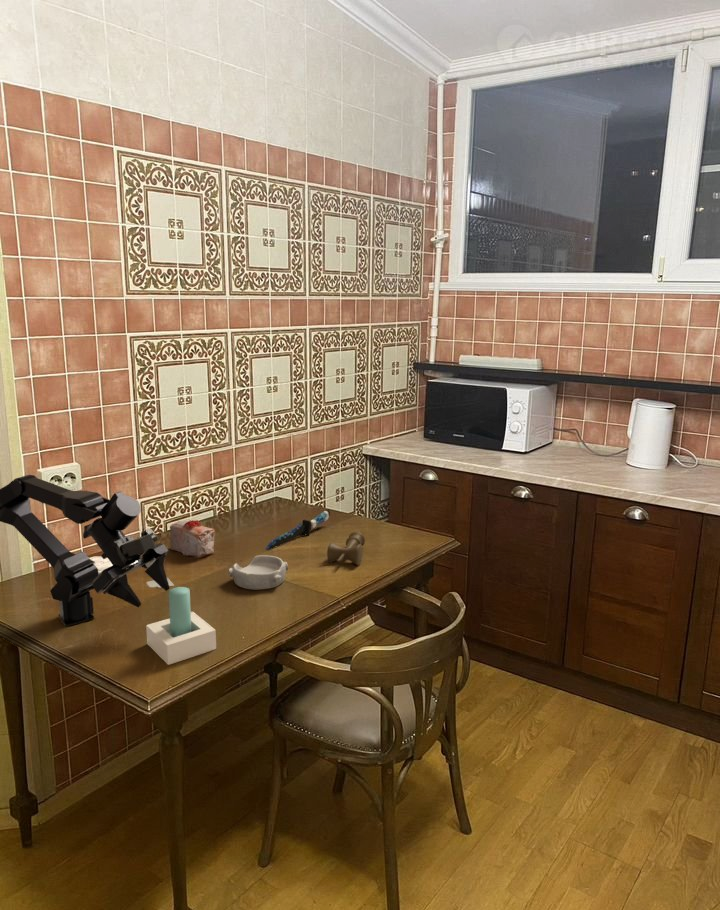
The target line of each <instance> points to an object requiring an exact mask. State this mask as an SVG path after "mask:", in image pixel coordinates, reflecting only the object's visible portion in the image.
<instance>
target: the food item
mask: <svg viewBox="0 0 720 910" xmlns="http://www.w3.org/2000/svg"><path fill="white" fill-rule="evenodd" d="M215 535H216V534H215V528H212V527H207V526H204V525H202V522H200V521H199V520H198V519H197V520H196V519H194V520H192V519H190V520H188V521H186V520H180V521H177V522H174V523H172V524H171V525H169V536H170V540H169V541H170V549H171V550H172V551H177V552H179V553H182V555H183V556H186V557H187V556H188V557H189V556H191V557H197V558H203V557H207V556H209V555H212V554H214V553H215V552H214V548H215V547H214V545H215Z"/></svg>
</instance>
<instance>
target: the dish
mask: <svg viewBox="0 0 720 910" xmlns="http://www.w3.org/2000/svg"><path fill="white" fill-rule="evenodd" d="M288 570H289V565H288V562H287V561H283V560H282V558H280V557H278V556H275V555H266V554H264V555H263V554H262V555H255V556H254V557H253V558H252V559H251V562H250V563H249V564H248V565H247V566H245V567H242V566H240V565H239V564H238V563H237V562H236V563H234V564H233V566H232V567H230V568H229V569H228V576H229V577H230V578H233V581H234V584H235V585H237V586H238V587H239V588H242V589H247V590H267V589H273V588H276V587H279V586H280V585H281V584H282V583H283V582H284V581H285V579H286V574H287V572H286V571H288Z"/></svg>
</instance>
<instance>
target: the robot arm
mask: <svg viewBox="0 0 720 910" xmlns="http://www.w3.org/2000/svg"><path fill="white" fill-rule="evenodd" d="M30 499H32V500H35V501H37V502H39V503H42V504H44V505H48V506H50V507H53V508H55V509H58V510H60V511H61V512H62V513H63V516H64V517H65V518H66V519H68V520H69V521H71V522H73V523H75V524H77V525H82V524H84V523H87V522H89V521H92V520H93V522H91V523H89V524H87V525H84V526H83V529H84V530H83V533H82V538H83V539H87V538H90V537H92V539H93V540H94V542H95V543H96V544H97V546H98V547H99V548H100V550H101V551H102V554H101V557H102V558H103V559H106V558H108V559H109V561H110V562H111V563H112V565H113V566H111V567H109V568H107V569H104V570H103V571H102V572H101V573H100V574H99V575H98V569H97V567H96V566H95V565H94V563H95V562H94V561H92V560H91V559H89V558H90V557H89V556H88V555H87V554H86V552H84V551H80V552H78V553H73V552H71V551H70V550H69V549H68V548H67V547H66V545H64V544H63V543H62V542H61V541H60V540H59V539H58V538H57V536H55V534H53V532H51V531H50V529H49V528H47V527H46V525H45V524H43V522H42V521H41V520H40V519H39V518H38V517H37V516H36V515H35V514H34V513H33V512H32V508H31V502H30ZM141 512H142V507H141V504H140V502H139V501H138V500H137V499H135V498H134V497H132V496H130V495H125V494H124V493H123V491H118V492H115V493H113V494H112V495H111V498H110V499H108V498H106V497H103V496H102V495H101V494H100V493H98V492H95V491H89V490H73V489H72V490H71V489H68V488H66V487H62V486H60V485H58V484H55V483H51V482H49V481H46V480H43V479H41V478H38V477H37V476H36V475H34V474H27V475H24V476H23V475H22V476H20V477H15V478H14V479H13V480H11V481H10V482H9V483H7V484H6V485H4V486H3V487H1V488H0V523H3V524H7V525H10V526H12V527H14V528H15V529H16V531H18V532H19V534H20V535H22V537H23V538H24V539H25V540H26V541H27V542H28V544H30V545H31V546H32V548H34V549H35V550H36V552H38V553H39V554H40V555H41V557H43V559H45V561H46V562H47V563H48V564H49V565H50V566H51V567H52V569H53V574H54V575H53V576H54V580H55V581H56V583H55V584H54V586H53V587H52V588H51V589H50V591H49V592H50V595H51V597H52V599H53V600H55V601H58V604H59V606H58V607H59V614H57V617H58V618H59V620H60V621H61V622H62V624H63V625H64V626H65V627H71V626H74V625H77V624H81V623H85V622H89V621H92V620H94V619H95V616H94V615H93V614H94V613H95V612H94V611H95V610H94V600H93V599H94V598H93V596H92V595H91V592H90V591H92V590H94V591H95V592H96V594H100V593H103V594H104V595H106V594H107V595H111V596H113V597H115V598H118V599H120V600H122V601H124V602H126V603H128V604H129V605H132V606H134V607H137V608H140V607H141V606H142V602H141V601H140V599H139V597H138V596H137V594H136V593H135V592H134V589H133V588H132V587H131V585H130V584H129V582H128V576H127V574H129V573H130V572H132V571H135V570H137V569H138V568H143V569H145V570H144V573H146V575H148V576H149V577H150V578H151V579H152V581H153V580H154V581H155V582H156V583H157V584H158V585H159V586H160V587H162V589H163V590H164V591H166V592H167V591H168V592H169V590H171V589H170V588H171V586H169V584H168V580H167V578H168V577H167V575H166V571H165V566H164V564H165V563H164V562H165V558H167V554H168V552H169V549H168V548H167V547H166V545H165V544H164V543H157V544H156V543H155V542H157V541H158V536H157V534H156V533H155V532H154V530H153V529H152V528H148V529H145V530H143V531H141V532H140V536H139V537H137V538H134V537H133V536H132V535H130V534H128V535H125V534H124V532H123V531H124V530H126V529H127V528H128V527H129V526H130V525H131V523H132V522H133V521H134V520H136V518H137V517H138V516H139V515H140V514H141Z"/></svg>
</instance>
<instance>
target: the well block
mask: <svg viewBox="0 0 720 910" xmlns="http://www.w3.org/2000/svg"><path fill="white" fill-rule="evenodd" d="M216 632H217V631H216V629H215V628H214V627H212V626H211V625H210V624H209V623H208V622H207V621H205V619H203V618H202V617H200V616H199V615H198V614H197V613H195V612H194V611H191V632H190V633H187V634H183V635H180V636H177V637H174V638H173V637H172V636H171V633H170V617H169V618H167V619H163V620H159V621H155V622H152V623H148V624H147V625H146V644H147V645H148V646H149V648H151V649H152V650H153V652H155V653H156V654H157V655H158V656H159V658H160V659H162V661H164V662H165V664H166V665H168V666H169V665H172V664H176V663H178V662H181V661H184V660H187V659H191V658H193V657H196V656H200V655H203V654H205V653H209V652H213V651H214V650H216V649H217V633H216Z"/></svg>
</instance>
